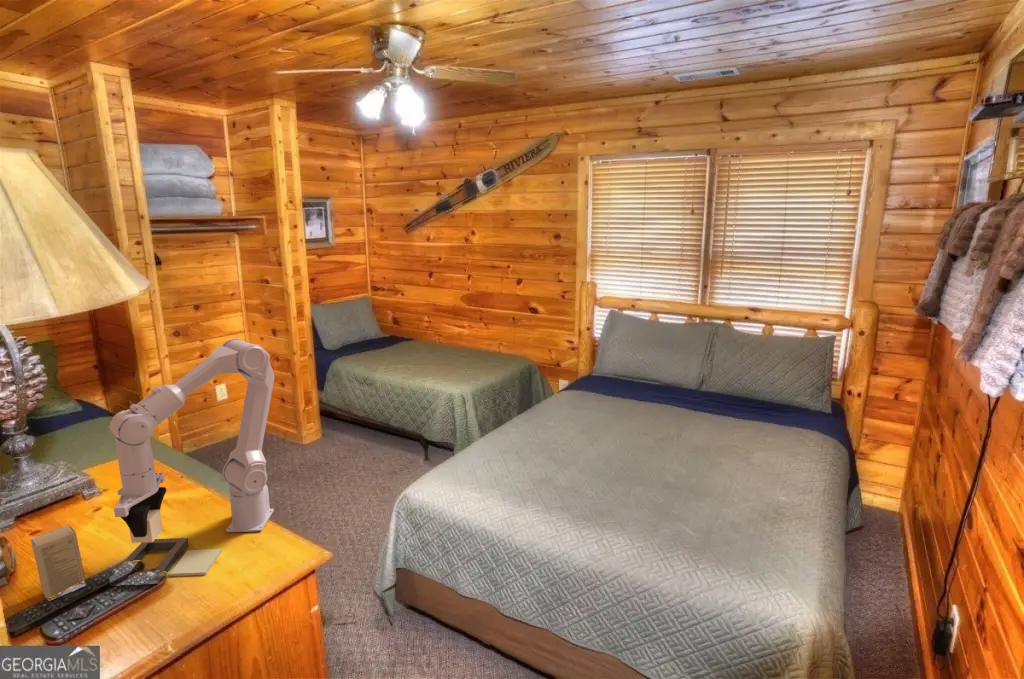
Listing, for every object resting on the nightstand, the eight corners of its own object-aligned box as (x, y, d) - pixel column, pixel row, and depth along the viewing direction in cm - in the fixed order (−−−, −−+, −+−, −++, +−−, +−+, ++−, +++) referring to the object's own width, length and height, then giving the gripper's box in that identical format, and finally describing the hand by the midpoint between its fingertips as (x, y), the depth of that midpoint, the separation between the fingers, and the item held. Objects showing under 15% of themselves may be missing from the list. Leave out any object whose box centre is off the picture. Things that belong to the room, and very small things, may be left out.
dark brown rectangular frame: (145, 547, 122) (144, 539, 121) (188, 545, 123) (187, 537, 122) (109, 586, 109) (108, 577, 109) (158, 584, 110) (156, 575, 110)
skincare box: (80, 577, 112) (71, 523, 109) (87, 587, 109) (77, 532, 106) (41, 593, 107) (29, 537, 104) (47, 604, 104) (35, 546, 101)
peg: (142, 531, 116) (139, 510, 115) (162, 530, 116) (159, 509, 115) (131, 542, 112) (128, 520, 111) (152, 542, 113) (149, 520, 111)
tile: (188, 552, 120) (187, 550, 120) (221, 551, 121) (221, 548, 121) (169, 576, 113) (169, 573, 112) (205, 574, 113) (205, 572, 113)
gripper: (136, 453, 117) (145, 511, 121) (92, 487, 103) (103, 551, 107) (171, 453, 118) (179, 510, 121) (132, 486, 104) (142, 550, 107)
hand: (146, 529), depth 114 cm, fingers closed on peg, 4 cm apart
